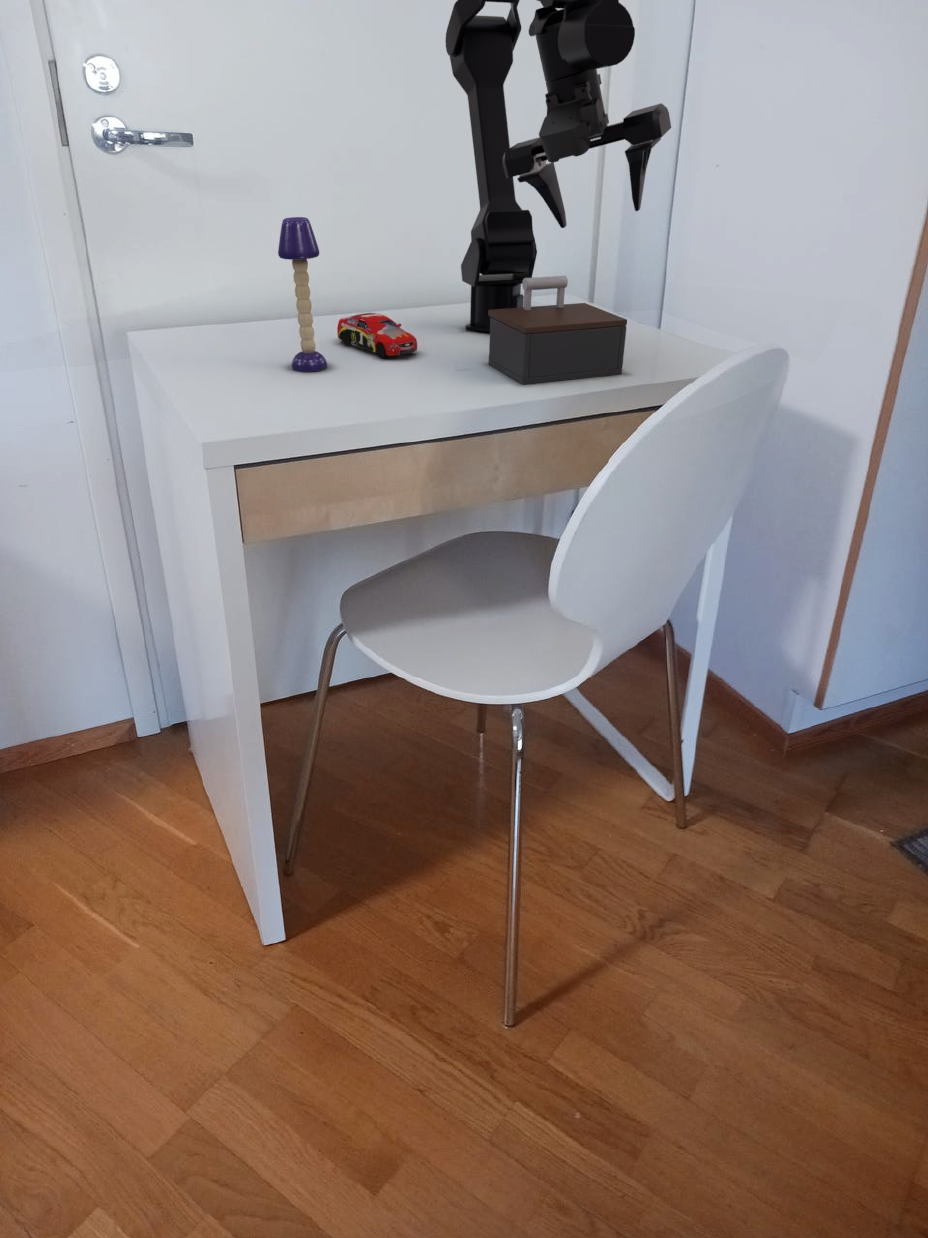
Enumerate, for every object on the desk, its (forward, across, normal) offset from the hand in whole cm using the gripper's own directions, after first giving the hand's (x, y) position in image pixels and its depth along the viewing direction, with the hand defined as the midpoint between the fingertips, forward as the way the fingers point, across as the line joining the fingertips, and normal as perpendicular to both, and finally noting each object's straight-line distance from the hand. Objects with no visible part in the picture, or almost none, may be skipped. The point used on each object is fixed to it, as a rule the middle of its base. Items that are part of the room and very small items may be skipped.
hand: (600, 218), depth 113 cm
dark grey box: (+14, -6, -10) cm, 18 cm away
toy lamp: (+5, -32, -22) cm, 39 cm away
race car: (+8, -29, -10) cm, 32 cm away
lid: (+8, -5, -9) cm, 13 cm away
